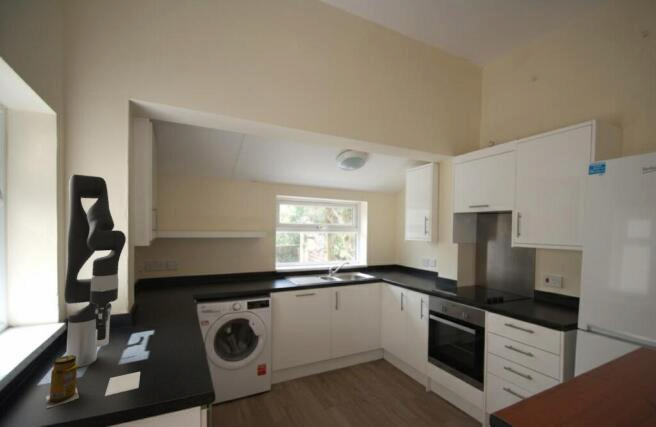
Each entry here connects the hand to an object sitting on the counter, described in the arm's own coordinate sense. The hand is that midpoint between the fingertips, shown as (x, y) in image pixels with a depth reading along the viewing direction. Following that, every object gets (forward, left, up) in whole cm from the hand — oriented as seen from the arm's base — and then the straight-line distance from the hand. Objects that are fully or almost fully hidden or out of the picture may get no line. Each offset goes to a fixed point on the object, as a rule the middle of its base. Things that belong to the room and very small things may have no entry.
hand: (102, 337), depth 95 cm
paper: (+2, +7, -16) cm, 18 cm away
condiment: (+2, -9, -17) cm, 19 cm away
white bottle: (0, 0, -2) cm, 2 cm away
